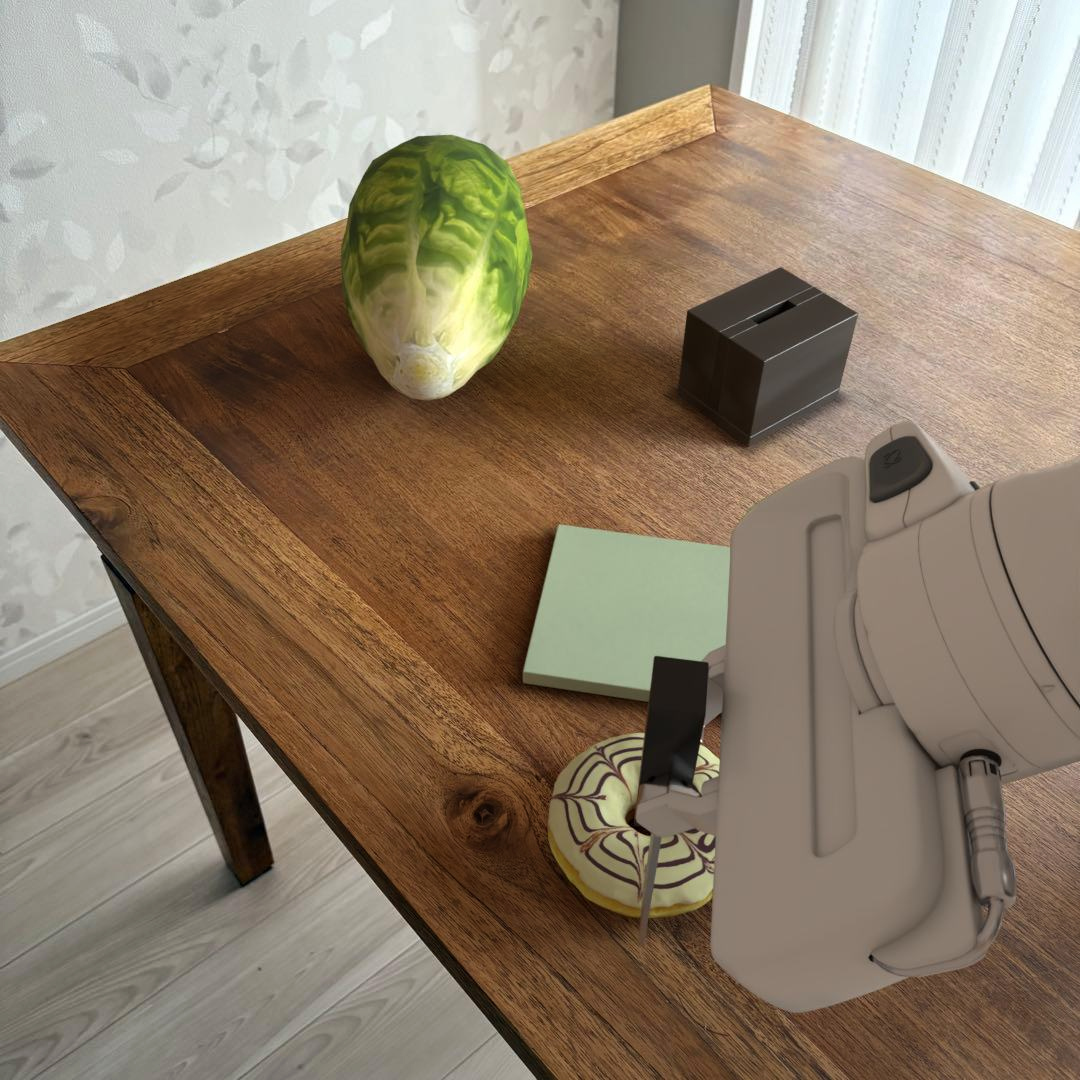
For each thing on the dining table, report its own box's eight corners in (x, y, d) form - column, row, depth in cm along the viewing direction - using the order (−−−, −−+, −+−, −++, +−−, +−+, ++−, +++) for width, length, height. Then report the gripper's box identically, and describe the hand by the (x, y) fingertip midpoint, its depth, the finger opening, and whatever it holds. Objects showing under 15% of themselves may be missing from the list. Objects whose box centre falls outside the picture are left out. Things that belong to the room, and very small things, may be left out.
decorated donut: (784, 859, 60) (797, 823, 57) (631, 973, 56) (636, 940, 53) (660, 728, 66) (665, 690, 63) (512, 822, 62) (511, 785, 59)
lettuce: (329, 456, 83) (298, 276, 72) (370, 264, 102) (351, 97, 90) (529, 458, 83) (529, 279, 72) (533, 265, 102) (534, 99, 90)
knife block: (837, 398, 88) (859, 313, 83) (748, 447, 84) (764, 361, 78) (765, 350, 93) (780, 266, 87) (676, 395, 88) (686, 309, 83)
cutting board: (849, 575, 75) (853, 562, 74) (853, 733, 66) (857, 721, 65) (557, 535, 77) (558, 523, 76) (522, 683, 68) (522, 671, 67)
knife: (667, 890, 53) (709, 655, 41) (662, 950, 51) (705, 722, 38) (625, 884, 54) (654, 648, 41) (619, 943, 51) (647, 714, 39)
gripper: (1085, 1001, 30) (686, 1072, 38) (989, 490, 44) (713, 621, 52) (960, 898, 27) (558, 998, 35) (901, 389, 41) (624, 543, 49)
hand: (651, 769), depth 44 cm, fingers closed on knife, 2 cm apart
